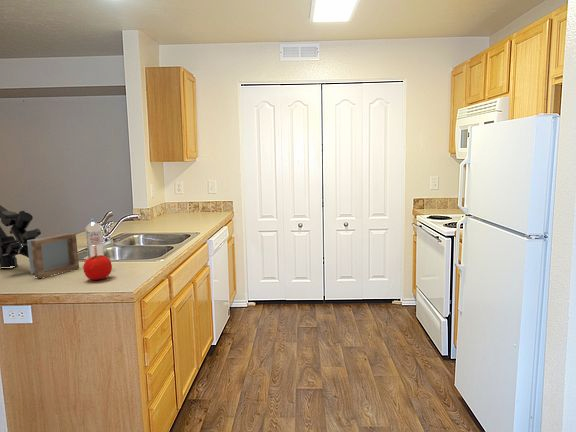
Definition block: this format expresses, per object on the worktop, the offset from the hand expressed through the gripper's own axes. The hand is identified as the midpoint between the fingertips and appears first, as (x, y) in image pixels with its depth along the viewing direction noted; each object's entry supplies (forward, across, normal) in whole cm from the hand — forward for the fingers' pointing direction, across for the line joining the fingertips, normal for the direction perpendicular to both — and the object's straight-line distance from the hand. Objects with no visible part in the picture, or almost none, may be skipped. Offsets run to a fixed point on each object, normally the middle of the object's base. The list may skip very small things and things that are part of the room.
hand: (37, 259), depth 213 cm
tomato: (+31, +4, -22) cm, 38 cm away
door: (+6, +4, +2) cm, 8 cm away
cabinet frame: (+11, +4, -2) cm, 12 cm away
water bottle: (+21, +14, -13) cm, 29 cm away
